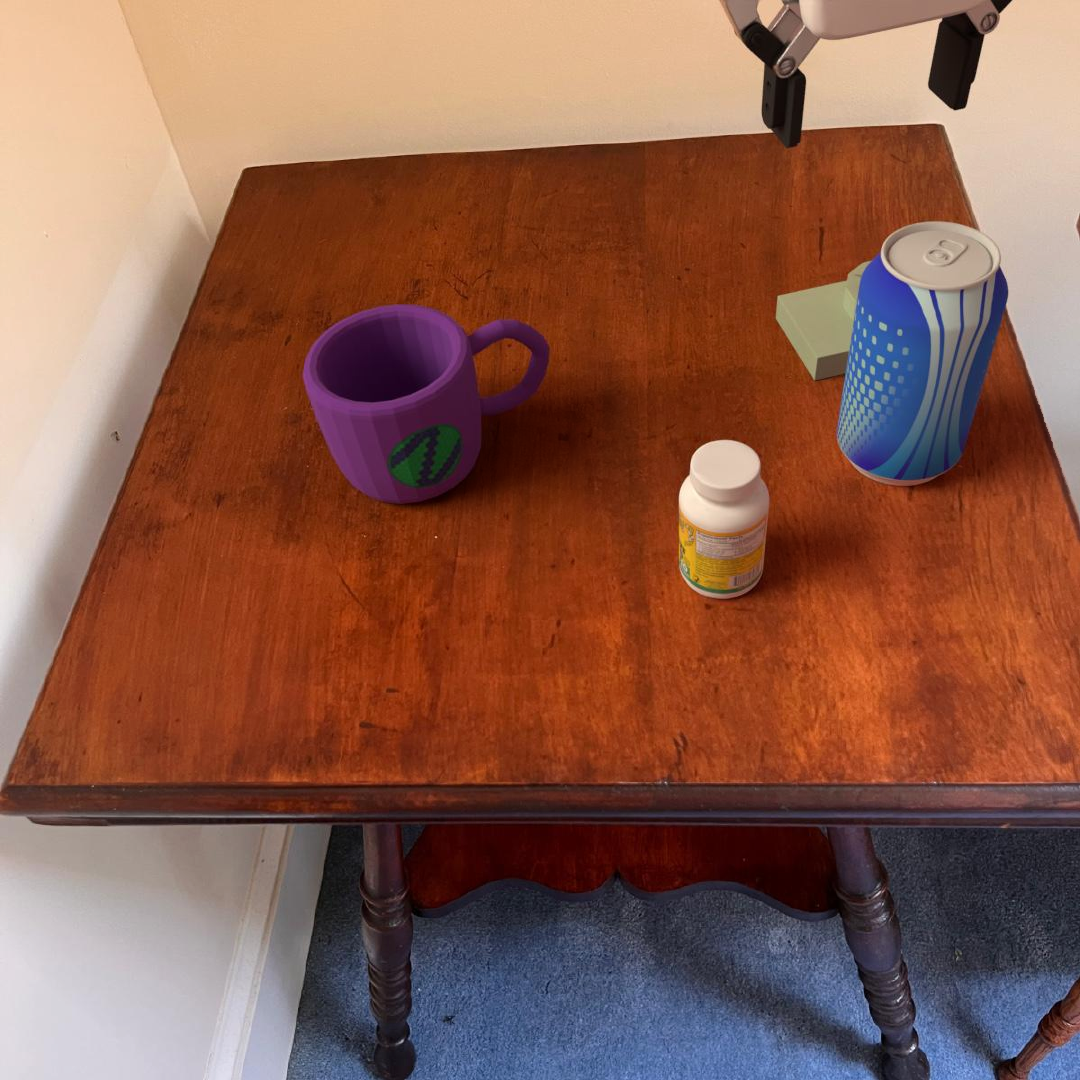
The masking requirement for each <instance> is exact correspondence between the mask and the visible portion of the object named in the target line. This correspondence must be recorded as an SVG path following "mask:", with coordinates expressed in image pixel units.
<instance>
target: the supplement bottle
mask: <svg viewBox="0 0 1080 1080" xmlns="http://www.w3.org/2000/svg"><path fill="white" fill-rule="evenodd" d="M761 464H762V463H761V460H760V457H759V455H758V454H757V452H756V451H755V450H754V449H753V448H751V447H750V446H748V445H747V444H745V443H742V442H740V441H737V440H731V439H719V440H714V441H713V440H712V441H710V442H707V443H705V444H703V445H701V446H700V447H699V448H697V449H696V451H695V452H694V453H693V454H692V456H691V460H690V465H689V466H690V467H689V475H688V476H686V478H685V479H684V481H683V483H682V484H681V487H680V488H679V493H678V565H679V567H678V568H679V571H680V574H681V576H682V578H683V579H684V581H685V583H686V584H687V585H688V587H690V588H691V589H692V590H693V591H695V592H696V593H697V594H699V595H702V596H704V597H707V598H711V599H719V600H727V599H733V598H737V597H740V596H743V595H745V594H747V593H748V592H749V591H751V590H752V589H753V588H754V587H755V586H756V585H758V583H759V581H760V579H761V577H762V575H763V572H764V571H763V570H764V562H765V552H766V541H767V540H766V539H767V527H768V518H769V510H770V509H769V508H770V492H769V489H768V487H767V485H766V482H765V481H764V480H763V478H762V477H761V467H762V465H761Z"/></svg>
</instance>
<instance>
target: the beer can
mask: <svg viewBox="0 0 1080 1080" xmlns="http://www.w3.org/2000/svg"><path fill="white" fill-rule="evenodd" d="M870 261H871V262H870V263H869V264H868V266H867V267H866V268H865V270H864V272H863V274H862V276H861V280H860V285H859V291H858V298H857V304H856V310H855V317H854V323H853V329H852V336H851V342H850V348H849V355H848V361H847V367H846V374H844V380H843V385H842V386H843V387H842V393H841V400H840V406H839V412H838V419H837V425H836V440H837V444H838V446H839V448H840V450H841V452H842V453H843V455H844V456H845V457H846V458H847V460H848V461H849V462H850V464H851V465H852V466H853V468H854V469H856V470H857V471H858V472H859V473H860V474H862V476H865V477H866V478H869V479H871V480H873V481H875V482H877V483H879V484H880V483H881V484H884V485H889V486H895V487H896V486H897V487H911V486H917V485H922V484H924V483H927V482H930V481H932V480H934V479H936V478H937V477H938V476H941V475H942V474H945V473H946V472H948V471H949V470H951V469H952V468H954V467H955V465H956V464H957V463H958V462H959V461H960V460H961V458H962V456H963V454H964V451H965V448H966V445H967V441H968V437H969V434H970V430H971V427H972V423H973V420H974V417H975V413H976V410H977V408H978V407H977V406H978V403H979V399H980V396H981V393H982V389H983V386H984V382H985V379H986V376H987V372H988V370H989V369H988V368H989V365H990V362H991V358H992V356H993V352H994V348H995V345H996V341H997V339H998V334H999V331H1000V327H1001V324H1002V320H1003V317H1004V313H1005V310H1006V307H1007V303H1008V300H1009V299H1008V298H1009V286H1008V281H1007V278H1006V276H1005V274H1004V272H1003V270H1002V267H1001V262H1002V255H1001V251H1000V248H999V247H998V245H997V244H996V242H995V241H994V240H993V239H992V238H991V237H989V235H987V234H985V233H984V232H982V231H980V230H978V229H976V228H973V227H971V226H968V225H966V224H965V225H964V224H961V223H957V222H950V221H922V222H917V223H912V224H909V225H905V226H903V227H900V228H899V229H896V230H895V231H894V232H892V233H891V234H889V236H887V237H886V239H885V240H884V241H883V243H882V246H881V250H880V252H878V254H877V255H876V256H875V257H874V258H873V259H872V260H870Z"/></svg>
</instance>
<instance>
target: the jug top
mask: <svg viewBox="0 0 1080 1080" xmlns="http://www.w3.org/2000/svg"><path fill="white" fill-rule="evenodd" d="M871 261H872V260H867V261H865V262H862V263H860V264H859V265H858V266H857V267H855V268H854V269H853V270H851V271H850V272H849V273H848V274H847V278H846V280H843V281H839V282H838V281H837V282H833V283H829V284H825V285H820V286H815V287H810V288H807V289H802V290H798V291H794V292H789V293H785V294H780V295H777V299H776V308H775V309H776V311H775V320H776V321H777V323H778V325H779V326H780V328H781V329H782V331H783V333H784V335H785V336H786V337H787V339H788V341H789V342H790V344H791V346H792V347H793V348H794V350H795V353H796V354H797V355H798V357H799V359H800V360H801V361H802V363H803V365H804V366H805V368H806V369H807V371H808V373H809V374H810V376H811V378H812V379H813V381H820V380H824V379H828V378H832V377H838V376H841V375H845V374H846V367H847V361H848V355H849V348H850V342H851V336H852V329H853V323H854V317H855V310H856V304H857V298H858V291H859V285H860V280H861V276H862V274H863V272H864V270H865V268H866V267H867V266H868V264H869V263H870V262H871Z"/></svg>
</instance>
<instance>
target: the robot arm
mask: <svg viewBox="0 0 1080 1080" xmlns="http://www.w3.org/2000/svg"><path fill="white" fill-rule="evenodd" d="M718 1H719V3H720V6H721V7H722V8H723V9H722V10H723V11H724V13H725V15H726V17H727V19H728V21H729V23H730V24H731V27H732V28H733V32H734V34H735V36H736V37H737V38H738V39H739V40H740V42H742V43H743V45H744V46H745V47H746V48H747V49H748V50H749V51H750V52H751V53H753V55H755V56H756V57H757V58H758V59H759V60H760V61H761V62H762V63H764V65H763V79H762V93H761V119H762V122H763V124H764V126H765V127H766V128H767V129H768V130H771V132H772V133H773V134H774V135H775V136H776V138H777V139H778V140H779V141H780V142H781V144H782V145H783V146H784V147H785V149H791V148H795V147H797V146H798V145H799V144H800V143H801V141H802V132H803V131H802V129H803V122H804V121H803V120H804V110H805V98H806V89H807V77H806V75H805V74H804V72H803V71H802V70H801V69H800V66H801V65H802V64H803V62H804V61H805V59H806V58H807V57H808V56H809V55H810V53H811V51H813V49H814V47H815V46H816V45H817V44H818V42H819V41H820V40H827V41H841V40H847V39H852V38H857V37H861V36H862V37H863V36H866V35H867V36H868V35H873V34H877V33H880V32H881V33H882V32H885V31H886V32H887V31H890V30H895V29H898V28H905V27H909V26H913V25H918V24H923V23H926V22H932V21H936V20H941V21H940V22H939V23H938V29H937V33H936V36H935V37H936V38H935V44H934V49H933V53H932V54H933V55H932V59H931V65H930V69H929V75H928V81H927V87H928V89H929V91H931V92H932V94H934V95H935V96H936V97H937V98H938V99H939V100H940V101H941V102H942V103H943V104H944V105H946V106H947V107H948V108H949V109H950V110H953V111H959V110H963V109H966V108H967V106H968V100H969V96H970V92H971V87H972V84H973V83H974V82H975V80H976V76H977V71H978V67H979V63H980V59H981V53H982V50H983V45H984V40H985V36H986V35H988V34H990V33H992V32H993V31H994V30H995V29H997V27H998V25H999V23H1000V19H1001V15H1000V14H1001V13H1002V12H1003V11H1004V10H1005V9H1006V8H1007V7H1008V6H1009V5H1010V4H1011V3H1012V2H1013V0H781V3H782V4H783V5H782V7H781V8H780V9H779V11H778V12H777V14H776V15H775V17H773V19H772V21H771V22H770V24H768V26H767V27H766V26H765V25H764V23H763V21H762V20H761V16H760V14H759V12H758V6H759V3H760V1H761V0H718Z"/></svg>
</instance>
